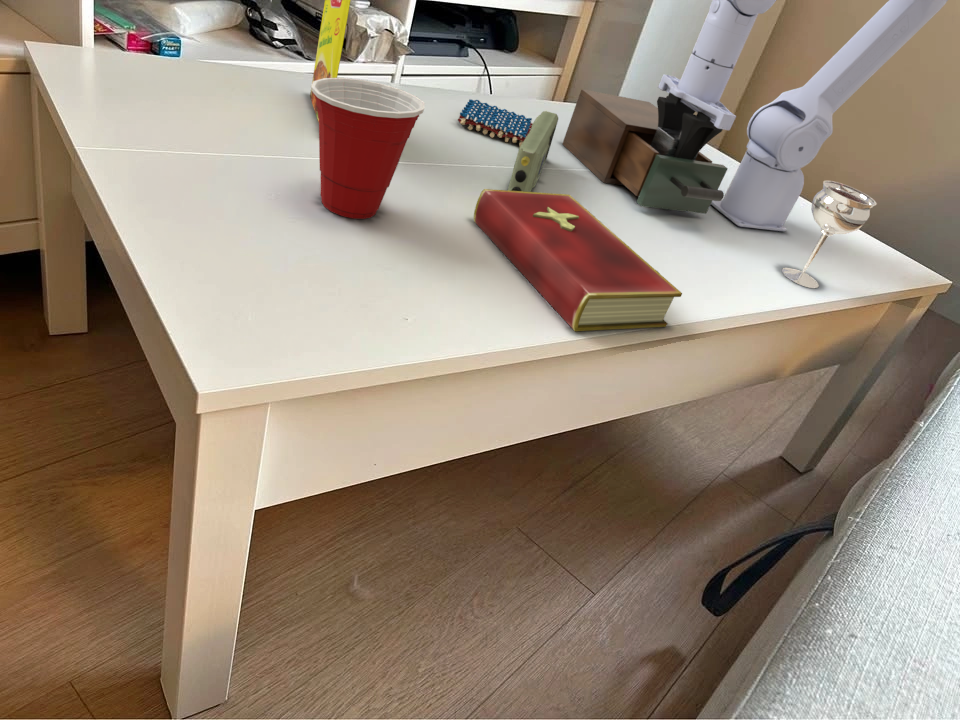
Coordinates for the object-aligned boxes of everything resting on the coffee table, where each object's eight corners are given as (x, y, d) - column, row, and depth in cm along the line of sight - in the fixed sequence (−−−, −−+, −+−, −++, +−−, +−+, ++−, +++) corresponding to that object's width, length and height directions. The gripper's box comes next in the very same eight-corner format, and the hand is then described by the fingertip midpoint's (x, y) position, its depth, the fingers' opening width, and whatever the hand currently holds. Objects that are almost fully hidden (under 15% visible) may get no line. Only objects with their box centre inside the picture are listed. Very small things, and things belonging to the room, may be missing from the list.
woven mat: (525, 150, 110) (529, 136, 109) (455, 126, 110) (458, 112, 108) (532, 130, 119) (536, 117, 117) (467, 108, 118) (470, 95, 117)
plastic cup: (340, 174, 84) (360, 65, 78) (418, 216, 81) (446, 106, 75) (270, 193, 76) (287, 73, 69) (355, 241, 73) (380, 119, 66)
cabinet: (673, 192, 113) (698, 136, 109) (603, 182, 108) (626, 124, 103) (628, 154, 123) (649, 101, 118) (562, 143, 117) (581, 88, 113)
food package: (306, 95, 103) (331, -68, 92) (314, 96, 103) (340, -66, 92) (321, 139, 91) (352, -41, 81) (330, 140, 92) (362, -38, 81)
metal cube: (671, 165, 108) (686, 131, 105) (687, 177, 105) (702, 143, 102) (643, 161, 106) (657, 126, 103) (658, 173, 103) (673, 138, 100)
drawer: (724, 228, 103) (747, 182, 99) (657, 221, 98) (679, 172, 94) (659, 175, 115) (678, 131, 111) (597, 166, 110) (614, 120, 106)
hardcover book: (571, 331, 70) (587, 292, 68) (471, 221, 84) (481, 186, 82) (665, 326, 76) (683, 290, 74) (558, 224, 90) (570, 192, 88)
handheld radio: (548, 161, 109) (519, 222, 87) (526, 154, 109) (492, 213, 88) (562, 115, 105) (535, 167, 84) (539, 108, 105) (507, 158, 84)
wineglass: (766, 268, 98) (814, 182, 91) (787, 261, 102) (834, 178, 96) (813, 296, 95) (866, 208, 88) (833, 286, 99) (884, 203, 93)
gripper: (658, 36, 101) (620, 135, 108) (722, 73, 90) (674, 179, 98) (699, 46, 104) (659, 141, 111) (765, 83, 93) (716, 185, 101)
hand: (669, 160), depth 105 cm, fingers closed on metal cube, 4 cm apart
